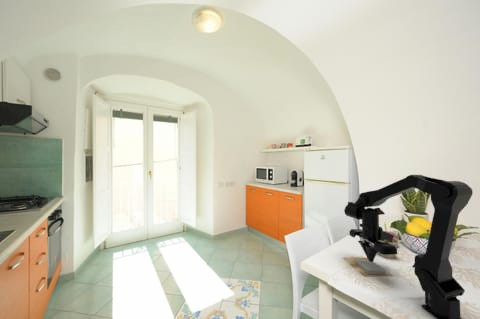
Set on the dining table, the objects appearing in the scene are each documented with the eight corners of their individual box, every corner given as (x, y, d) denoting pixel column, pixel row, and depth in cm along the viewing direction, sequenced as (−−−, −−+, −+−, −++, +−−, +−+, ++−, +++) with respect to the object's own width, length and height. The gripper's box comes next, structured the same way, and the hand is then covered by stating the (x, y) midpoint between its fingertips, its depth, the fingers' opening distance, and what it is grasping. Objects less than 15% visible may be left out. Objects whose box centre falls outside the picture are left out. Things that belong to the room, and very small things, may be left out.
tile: (371, 264, 78) (385, 274, 71) (356, 264, 78) (368, 274, 71) (371, 260, 78) (385, 269, 71) (355, 260, 78) (368, 270, 71)
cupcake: (375, 243, 103) (375, 221, 103) (384, 240, 106) (384, 219, 106) (394, 249, 95) (393, 226, 95) (402, 246, 98) (402, 224, 99)
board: (394, 278, 70) (394, 275, 70) (364, 279, 70) (364, 276, 70) (367, 259, 84) (367, 257, 84) (342, 260, 84) (342, 257, 84)
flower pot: (404, 263, 81) (404, 244, 82) (380, 261, 83) (380, 242, 83) (391, 253, 90) (391, 236, 91) (370, 251, 92) (370, 234, 93)
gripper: (411, 231, 66) (412, 274, 65) (371, 216, 85) (372, 250, 84) (381, 231, 65) (382, 275, 65) (348, 216, 84) (348, 250, 84)
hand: (370, 261), depth 74 cm, fingers closed
